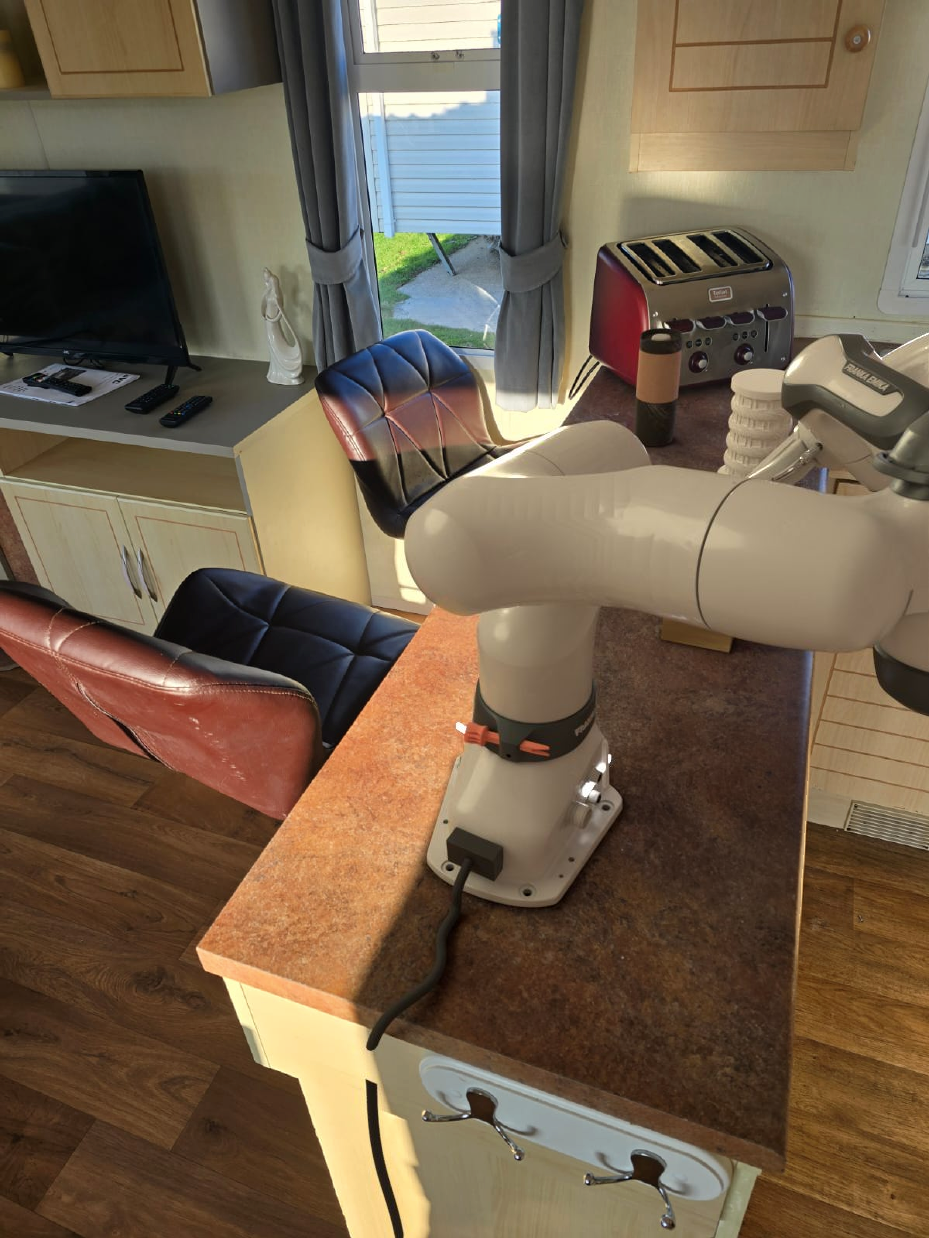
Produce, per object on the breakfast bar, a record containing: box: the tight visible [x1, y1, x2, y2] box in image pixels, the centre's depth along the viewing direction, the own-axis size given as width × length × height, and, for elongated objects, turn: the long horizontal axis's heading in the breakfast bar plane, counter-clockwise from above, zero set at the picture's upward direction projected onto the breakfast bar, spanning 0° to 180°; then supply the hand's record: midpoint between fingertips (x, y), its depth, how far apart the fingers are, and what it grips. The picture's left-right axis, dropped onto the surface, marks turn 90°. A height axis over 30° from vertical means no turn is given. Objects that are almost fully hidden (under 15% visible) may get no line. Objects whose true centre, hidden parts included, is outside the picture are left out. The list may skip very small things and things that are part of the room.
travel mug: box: [634, 327, 684, 447], centre depth 158 cm, size 8×8×20 cm
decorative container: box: [716, 368, 794, 477], centre depth 142 cm, size 12×12×18 cm
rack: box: [660, 618, 735, 654], centre depth 116 cm, size 21×9×8 cm, turn 157°
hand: (744, 486), depth 113 cm, fingers open, 8 cm apart
